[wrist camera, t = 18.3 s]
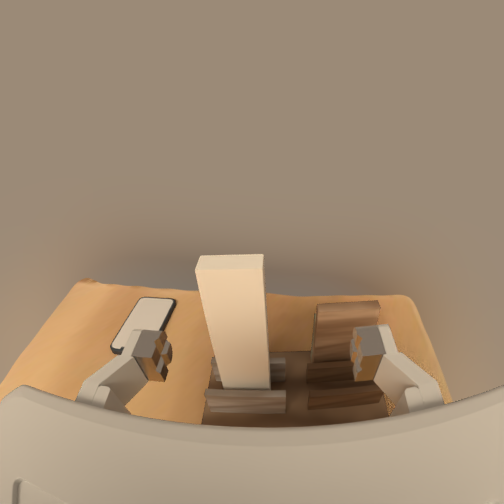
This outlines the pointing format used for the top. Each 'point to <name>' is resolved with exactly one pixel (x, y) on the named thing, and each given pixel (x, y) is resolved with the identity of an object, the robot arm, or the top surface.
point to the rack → (296, 396)
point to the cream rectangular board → (237, 318)
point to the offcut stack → (339, 328)
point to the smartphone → (144, 319)
